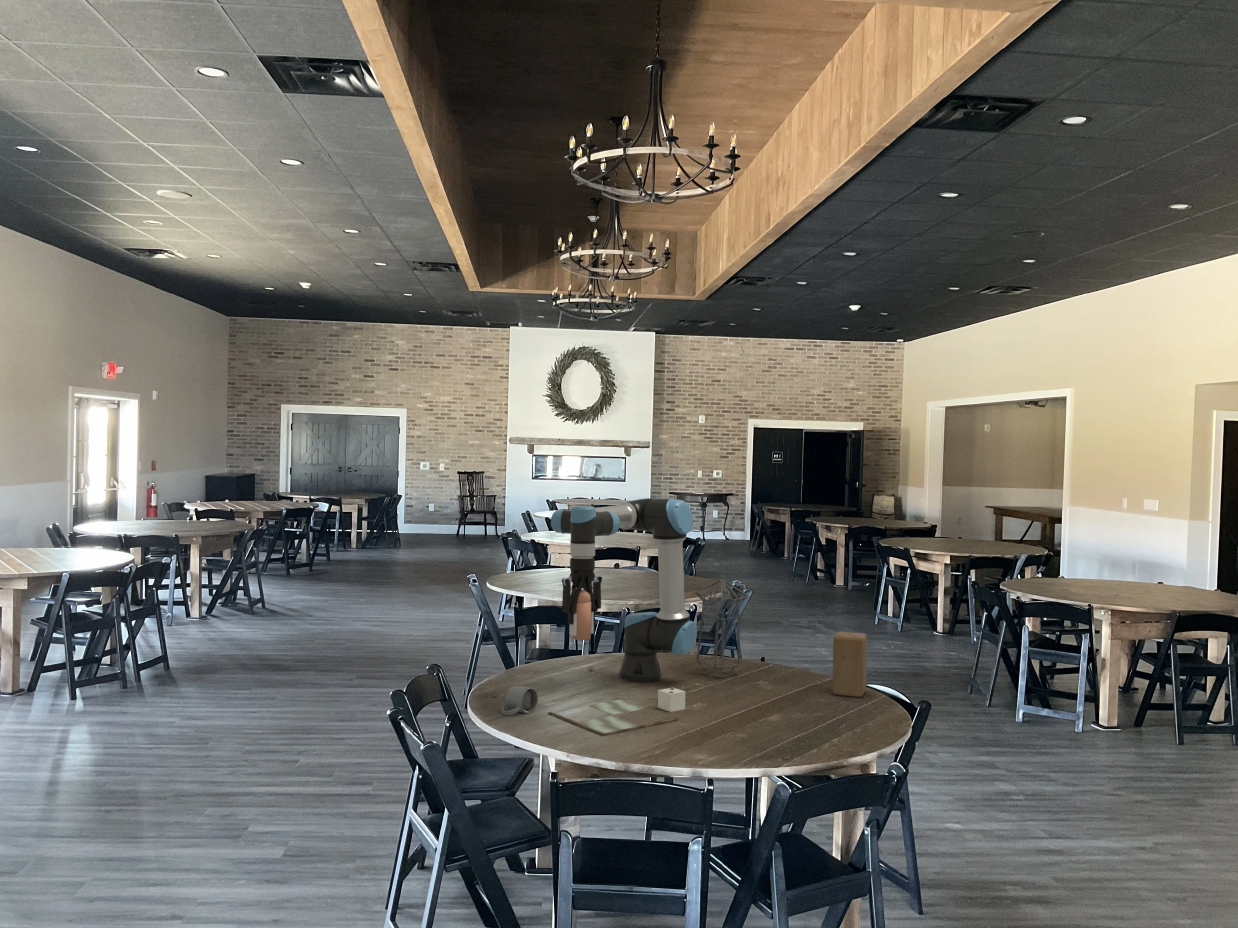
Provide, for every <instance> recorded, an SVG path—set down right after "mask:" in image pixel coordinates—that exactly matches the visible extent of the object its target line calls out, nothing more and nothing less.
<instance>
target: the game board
mask: <svg viewBox="0 0 1238 928" xmlns="http://www.w3.org/2000/svg"><path fill="white" fill-rule="evenodd" d="M587 706H588V707H591V708H594V709H596V710H599V711H601V712H604V713H606V714H609V715H610V716H605V717H600V718H594V719H590V720H585V721H579V722H578V721H575V720H573V719H570V718H567V717H565V716H562V715H560V714H557V713H554V712H552V711H549V712H547V714H548V715H549V714H550V716H552V715H553V716H552V717H554V716H555V717H554V718H557V719H559V720H562V721H565V722H567V723H570V724H572V725H575V726H577V727H579V728H582V729H585V730H587V731H589V732H592V733H594V734H597V735H600V736H601V737H606V736H610V735H614V734H615V735H616V734H618V733H625V732H630V731H634V730H640V729H644V728H649V727H654V726H658V725H664V724H667V723H672V722H678V721H679V718H677V717H673V718H668V719H664V720H659V721H655V722H650V723H644V724H640V725H639V724H636V723H633V722H630V721H628V720H626V719H621V718H619V717H616V716H614V715H620V714H624V713H628V712H629V713H630V712H635V711H639V710H644V709H645V710H646V709H647V708H646V707H645V706H644V707H643V706H641V705H638V704H635V703H631V702H628V701H625V700H624V699H617V700H610V701H606V702H600V703H599V702H598V703H594V704H588V705H587Z"/></svg>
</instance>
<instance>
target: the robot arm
mask: <svg viewBox="0 0 1238 928" xmlns="http://www.w3.org/2000/svg"><path fill="white" fill-rule="evenodd" d="M693 518H694V517H693V513H692V510H691V508H690V506H689V504H688V503H687V502H686V501H684V500H682V499H675V498H648V497H647V498H639V499H634V500H629V501H628V500H627V501H623V502H619V503H617V505H609V506H601V507H595V506H592V505H591V506H590V505H577V506H576V505H575V506H573V507H572V508H571V509H556V510H555V511H554V512H553V513H552V515H551V517H550V525H551V528H552V530H553V532H555V533H558V534H563V535H564V534H565V535H566V534H567V535H569V534H570V545H569V546H570V548H569V550H570V552H569V553H570V555H569V556H571V557H570V559H569V570H570V574H569V576H568V577H566V578H564V577H563V578H562V579H561V583H562V599H561V600H562V601H561V602H562V603H561V611H562V612H564V613H567V624H568V625H569V627H568V628H569V629H568V630H569V633H568V634H569V635H570V636H572V635H574V636H576V635H577V614H576V613H575V609H576V605H577V601H578V596H579V592H580V591H581V590H585V591H587V592H588V593H589V594H590V598H591V599H590V601H591V635H592V634H594V622H596V613H597V612H598V611H599V609H602V581H603V577H602V576H601V575H595V571H594V570H595V569H596V568H595V567H596V559H595V558H594V557H596V537H605V536H606V537H609V536H612V535H614V534H617V532H618V531H619V529H622V530H636V531H642V532H649V533H650V532H651V533H652V538H653V540H654V541H655V543H657V556H658V578H659V579H658V581H659V605H660V607H659V608H660V610H659V611H658V612H655V611H647V612H636V613H630V614H627V616H626V617H625V619H624V626H623V628H624V650H623V651H624V653H623V654H624V655H623V658H622V662H621V666H620V669H619V670H618V671H619V673H618V677H620V678H619V679H621V678H622V679H621V680H623V679H625V680H624V681H626V680H629V681H628V682H633V681H636V682H637V683H647V682H648V683H649V682H656V681H659V680H661V679H662V670H661V666H660V663H659V659H658V657H657V656H658V655H657V653H658V652H662V653H663V652H665V653H668V654H669V653H670V654H673V655H686V654H688V653H689V652H690V651H691V650H692V649H693V647H694V646H695V644H696V640H697V635H698V628H697V625H696V623H695V622H694V621H692V620H691V619H690V617H691V615H690V613H689V612H688V611H687V610H686V602H685V601H686V600H685V578H684V577H685V576H684V575H685V574H684V573H685V572H684V552H683V550H684V549H683V547H684V545H683V542H684V541H685V540H686V539H687V534H689V533H690V532H691V531H692V526H693V521H694V520H693ZM636 682H635V683H636Z"/></svg>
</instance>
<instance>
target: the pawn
mask: <svg viewBox="0 0 1238 928" xmlns="http://www.w3.org/2000/svg"><path fill="white" fill-rule="evenodd" d="M590 599H591V598H590V594H589V593H588V592H587V591H585V590H584V589H581V591H580V592H579V596H578V601H577V605H576V609H575V613H576V614H577V635H576V636H574V635H571V637H572V640H577V641H589V640H590V639H591V636H592V634H591V601H590Z"/></svg>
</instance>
